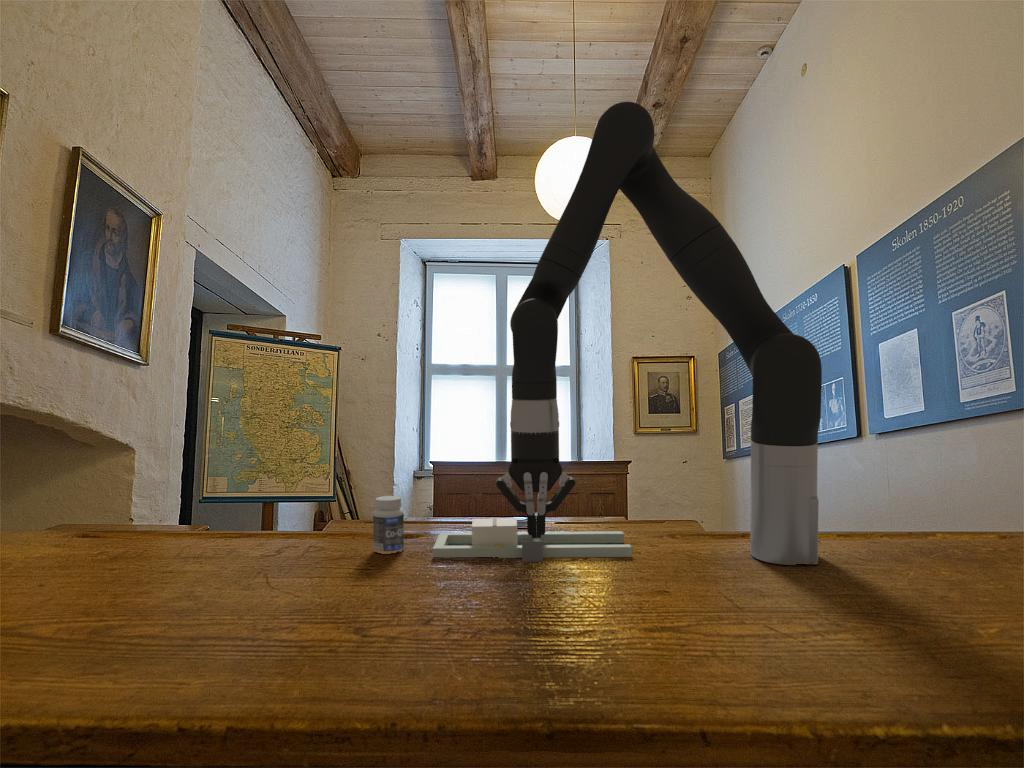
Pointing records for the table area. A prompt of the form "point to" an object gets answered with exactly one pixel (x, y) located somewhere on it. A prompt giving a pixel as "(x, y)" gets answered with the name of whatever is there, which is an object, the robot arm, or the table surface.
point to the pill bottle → (388, 524)
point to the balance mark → (498, 545)
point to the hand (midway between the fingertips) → (536, 537)
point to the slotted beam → (536, 546)
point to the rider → (494, 531)
